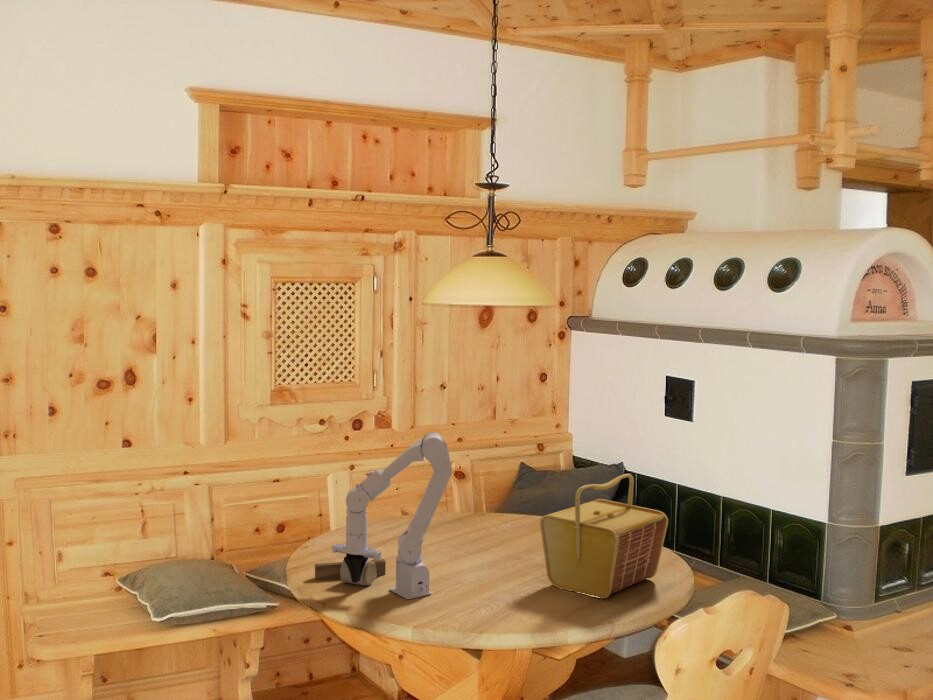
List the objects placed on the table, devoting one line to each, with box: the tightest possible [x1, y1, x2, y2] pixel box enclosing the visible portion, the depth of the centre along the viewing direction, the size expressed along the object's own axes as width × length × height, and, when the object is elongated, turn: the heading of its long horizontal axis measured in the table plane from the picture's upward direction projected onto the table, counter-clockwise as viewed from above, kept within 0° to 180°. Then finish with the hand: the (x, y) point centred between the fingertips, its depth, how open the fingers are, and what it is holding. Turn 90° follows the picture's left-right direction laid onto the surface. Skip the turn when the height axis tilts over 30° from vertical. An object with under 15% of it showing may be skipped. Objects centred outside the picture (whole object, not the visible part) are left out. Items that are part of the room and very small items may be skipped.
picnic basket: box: [539, 473, 669, 599], centre depth 284 cm, size 29×26×30 cm
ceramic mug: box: [340, 558, 378, 587], centre depth 281 cm, size 11×8×8 cm
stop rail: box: [314, 558, 387, 581], centre depth 286 cm, size 2×20×4 cm, turn 107°
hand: (356, 581), depth 273 cm, fingers closed
